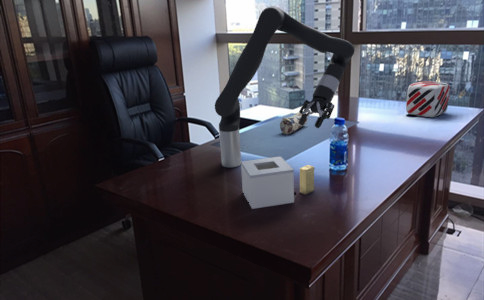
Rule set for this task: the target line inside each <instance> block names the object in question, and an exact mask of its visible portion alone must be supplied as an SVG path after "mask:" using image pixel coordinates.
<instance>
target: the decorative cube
mask: <svg viewBox="0 0 484 300" xmlns="http://www.w3.org/2000/svg"><path fill="white" fill-rule="evenodd" d="M450 88H451V87H450V85H449V84H448V83H446V82H441V81H429V80H421V81H418V82H413V83H411V84H409V86H408V88H407V92H406V103H405V104H406V105H405V111H406V113H407V114H408V115H411V116H418V117H425V118H436V117H437V116H438V117H439V116H440V115H443V114H445V113H446V112H447V110H448V107H449V97H450Z"/></svg>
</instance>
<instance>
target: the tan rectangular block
mask: <svg viewBox="0 0 484 300" xmlns="http://www.w3.org/2000/svg"><path fill="white" fill-rule="evenodd" d="M314 191H315V166H313V165H310V164H307V165H304V166H303V167H300V168H299V193H301V194H304V195H308V194H310V193H312V192H314Z"/></svg>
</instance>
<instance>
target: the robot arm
mask: <svg viewBox="0 0 484 300" xmlns="http://www.w3.org/2000/svg"><path fill="white" fill-rule="evenodd" d="M277 31H278V32H279V31H280V32H282V33H286V34H288V35H289V36H292V37H294V38H296V40H299V42H301V43H303V45H305V46H308V47H309V48H311V49H312V50H315V51H318V52H319V53H322V54H326V53H331V54H332V56H331V58H330V61H329V64H328V65H327V66H326V68H325V70H324V72H323V74H322V76H321V77H320V79H319V81H318V83H317V85H316V88H315V89H314V91H313V94H312V99H311V100H308V99H305V100H304V102H303V104H302V106H301V107H300V110H299V111H298V112H299V113H301V114H302V116H301V118H300V120H299V124H300V125H302V127H304V126H305V125H304V123H305V121H306V119H307V118H309V116H310V115H313V114H318V117H317V118H316V121H315V123H314V127H315V128H316V129H320V127H321V126H322V124H323V123H324V121H325V120H326V119H327V120H329V119H330V118H331V116H332V113H333V111H334V109H335V104H334V103H332V101H333V98H334V96H335V94H336V92H337V90H338V88H339V84H340V82H341V81H342V78H343V76H344V73H345V70H346V68H347V66H348V64H349V63H350V61H351V59H352V57H353V56H354V54H355V51H356V50H355V46H354V45H353V44H352V43H351V42H350V41H349V40H347V39H343V38H339V37H335V36H330V35H328V34H326V33H324V32H322V31H320V30H318V29H316V28H313V27H311V26H309V25H307V24H305V23H303V22H302V21H299V20H297V19H296V18H294V17H292V16H291V15H289V14H288V13H287V12H286V11H285V10H282V8H280V7H279V6H275V5H273V6H268V7H265V8H264V9H263V10H262V11H261V12H260V14H259V16H258V19H257V22H256V25H255V27H254V30H253V33H252V34H251V36H250V38H249V40H248V42H247V43H246V44H245V46H244V48H243V50H242V52H241V53H240V55H239V57H238V59H237V61H236V64H235V65H234V68H233V69H232V71H231V74H230V76H229V78H228V80H227V83H226V85H225V86H224V88H223V89H222V91H221V93H219V96H218V97H217V99H216V100H215V103H214V109H215V113H216V114H217V115H218V116H220V117H221V118H220V121H219V123H218V133H219V144H220V145H219V147H220V156H221V157H220V160H221V166H222V167H224V168H236V167H240V166H241V162H242V152H241V135H240V123H241V103H240V100H239V97H240V95H241V93H242V92H243V90H244V89H245V88H246V87H247V86H248V85H249V84H250V82H251V81H252V80H253V78H254V77H255V75H256V73H257V72H258V70H259V68H260V67H261V64H262V61H263V59H264V55H265V53H266V49H267V47H268V44H269V42H270V41H271V39H272V38H273V36H274V35H275V33H276V32H277ZM303 125H304V126H303Z"/></svg>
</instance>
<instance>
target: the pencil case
mask: <svg viewBox="0 0 484 300" xmlns="http://www.w3.org/2000/svg"><path fill="white" fill-rule="evenodd" d="M301 116H302V114H301V113H299V111H298V112H297V113H295V114H294V115H292V116H289V117H282V120H281V121H280V123H279V127H280V131H281V133H283V134H284V135H290V134H292V133H294V132H296V131H298V130H299V129H300V128H302V127H304V126H306V124H307V123H308V118H309V117H307V119H306V121H305V123H304V125H303V126H302V125H300V124H299V120H300V118H301Z"/></svg>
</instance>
